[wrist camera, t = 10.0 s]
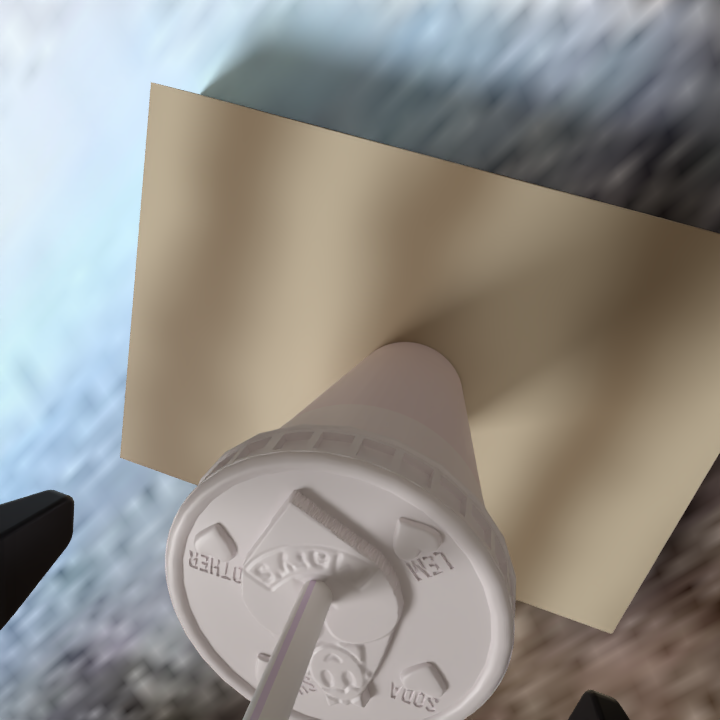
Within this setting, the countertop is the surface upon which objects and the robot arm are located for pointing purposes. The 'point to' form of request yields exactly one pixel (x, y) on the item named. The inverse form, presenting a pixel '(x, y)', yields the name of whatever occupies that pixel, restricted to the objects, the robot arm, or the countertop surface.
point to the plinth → (429, 328)
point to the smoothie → (351, 555)
